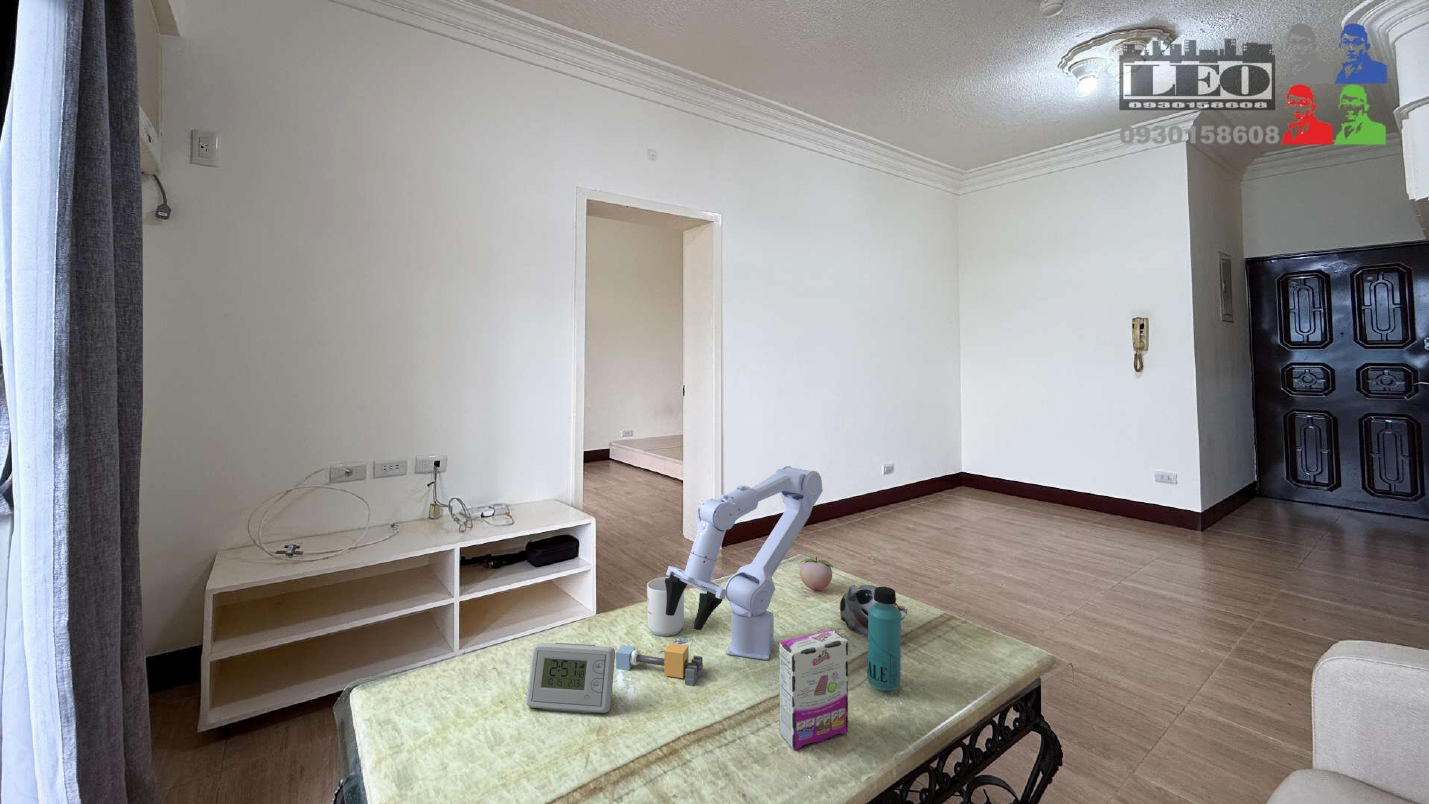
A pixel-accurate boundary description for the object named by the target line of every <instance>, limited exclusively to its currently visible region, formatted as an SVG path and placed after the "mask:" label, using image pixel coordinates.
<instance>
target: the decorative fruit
mask: <svg viewBox="0 0 1429 804" xmlns="http://www.w3.org/2000/svg"><path fill="white" fill-rule="evenodd" d="M800 563H802V564H801V566H800V568H799V569H800V570H799V577H800V579H801V581H802V583H803V584H804V585H805V587H806V588H809V589H811V590H813V591H814V592H817V591H820V590H823V589H825V588H827V587H828V586H829V585H830V584H831V582H832V579H833V570H832V568H834V566H833V564H831V563H830V562H829V561H827V560H823V559H818V556H815V559H814V558H809V557H808V558H805V559H802V560H801V561H800Z"/></svg>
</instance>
